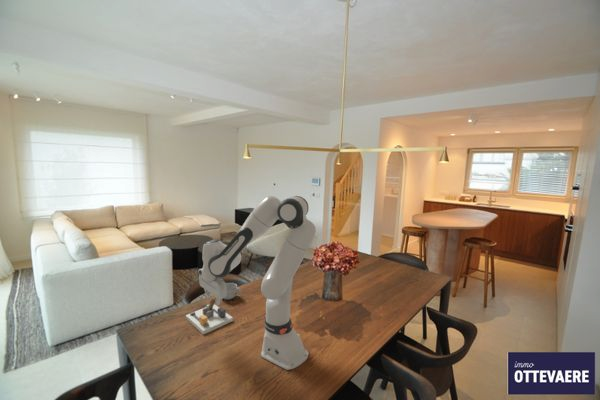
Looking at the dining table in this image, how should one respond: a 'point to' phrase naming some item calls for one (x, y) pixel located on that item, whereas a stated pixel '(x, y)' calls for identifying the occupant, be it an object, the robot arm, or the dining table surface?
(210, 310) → the walnut lever
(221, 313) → the black slider
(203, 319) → the orange slider
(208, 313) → the panel
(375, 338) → the dining table surface
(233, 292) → the teacup
